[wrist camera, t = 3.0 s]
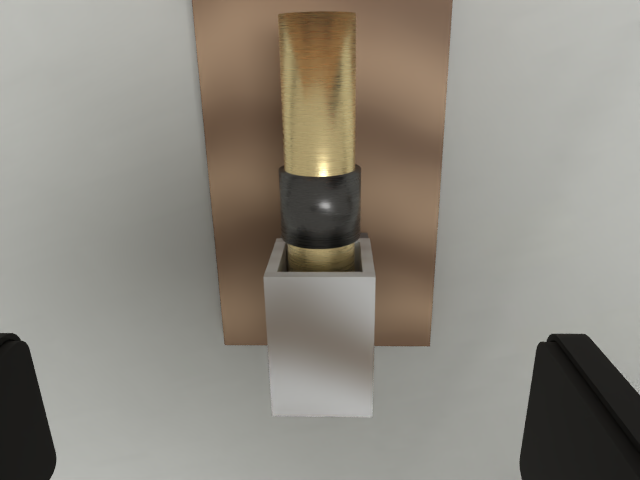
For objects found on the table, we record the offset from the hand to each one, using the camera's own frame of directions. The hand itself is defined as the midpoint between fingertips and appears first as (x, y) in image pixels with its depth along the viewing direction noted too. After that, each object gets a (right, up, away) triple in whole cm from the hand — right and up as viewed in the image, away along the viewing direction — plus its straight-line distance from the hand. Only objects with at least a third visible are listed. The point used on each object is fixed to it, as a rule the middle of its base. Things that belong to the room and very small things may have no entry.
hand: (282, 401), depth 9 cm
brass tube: (+1, +5, +15) cm, 15 cm away
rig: (+1, +9, +18) cm, 20 cm away
